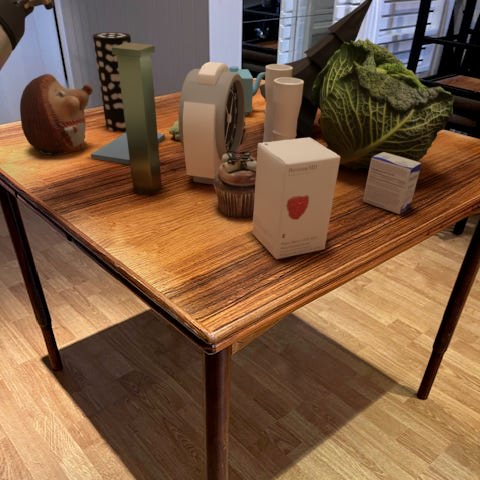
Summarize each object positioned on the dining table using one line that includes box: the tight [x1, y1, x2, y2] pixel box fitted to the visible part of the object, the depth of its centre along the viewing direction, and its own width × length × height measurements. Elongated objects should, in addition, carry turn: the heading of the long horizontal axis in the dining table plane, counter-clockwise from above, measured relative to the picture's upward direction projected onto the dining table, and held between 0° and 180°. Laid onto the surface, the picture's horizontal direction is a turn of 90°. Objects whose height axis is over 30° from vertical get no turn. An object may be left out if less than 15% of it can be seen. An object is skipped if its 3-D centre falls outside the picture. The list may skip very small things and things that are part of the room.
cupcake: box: [213, 150, 257, 219], centre depth 82 cm, size 10×10×10 cm
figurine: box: [19, 73, 94, 156], centre depth 101 cm, size 14×16×15 cm
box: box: [362, 152, 422, 215], centre depth 85 cm, size 8×4×9 cm, turn 47°
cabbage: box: [310, 37, 455, 170], centre depth 96 cm, size 25×24×23 cm
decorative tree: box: [259, 0, 373, 139], centre depth 110 cm, size 15×15×35 cm
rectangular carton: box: [251, 137, 340, 260], centre depth 71 cm, size 9×9×15 cm
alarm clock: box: [178, 61, 246, 186], centre depth 90 cm, size 18×8×20 cm, turn 164°
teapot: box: [228, 65, 266, 117], centre depth 128 cm, size 16×18×11 cm
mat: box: [90, 132, 166, 165], centre depth 107 cm, size 18×9×1 cm, turn 162°
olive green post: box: [112, 42, 163, 196], centre depth 82 cm, size 5×5×24 cm
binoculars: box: [262, 63, 304, 143], centre depth 95 cm, size 17×5×18 cm, turn 5°
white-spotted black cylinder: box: [92, 31, 132, 133], centre depth 112 cm, size 8×8×20 cm
